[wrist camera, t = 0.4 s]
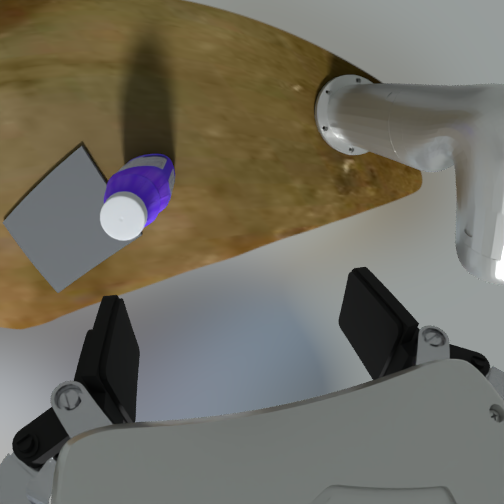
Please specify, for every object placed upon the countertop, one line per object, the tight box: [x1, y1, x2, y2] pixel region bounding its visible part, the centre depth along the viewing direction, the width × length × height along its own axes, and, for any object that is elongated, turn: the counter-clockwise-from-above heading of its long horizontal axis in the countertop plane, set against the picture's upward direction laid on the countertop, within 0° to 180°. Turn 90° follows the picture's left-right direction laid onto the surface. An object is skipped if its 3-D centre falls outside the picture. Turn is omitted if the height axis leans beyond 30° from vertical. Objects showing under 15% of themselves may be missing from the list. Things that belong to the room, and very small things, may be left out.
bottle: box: [100, 154, 175, 240], centre depth 30 cm, size 7×6×17 cm
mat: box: [3, 146, 142, 293], centre depth 37 cm, size 20×16×1 cm
